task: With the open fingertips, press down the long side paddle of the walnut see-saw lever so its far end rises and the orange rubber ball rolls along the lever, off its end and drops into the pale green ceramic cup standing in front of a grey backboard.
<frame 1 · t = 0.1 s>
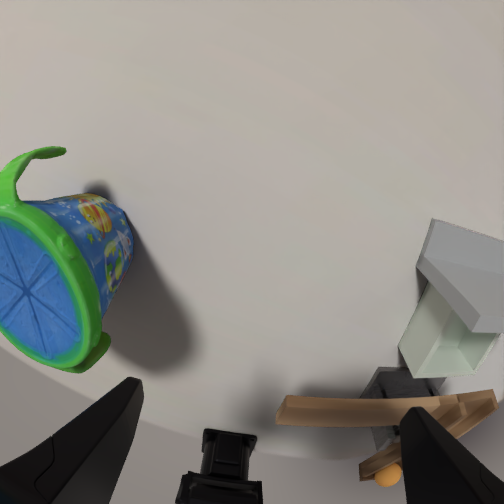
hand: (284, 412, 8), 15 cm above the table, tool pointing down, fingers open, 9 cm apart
fulcrum: (400, 392, 28), on the table
snack cup: (98, 234, 22), on the table
ball: (388, 474, 24), point 8 cm above the table, tilted 10°, touching lever
lever: (364, 451, 21), point 8 cm above the table, hinge at -12.0°, touching ball
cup: (447, 313, 23), on the table
backboard: (467, 270, 22), on the table
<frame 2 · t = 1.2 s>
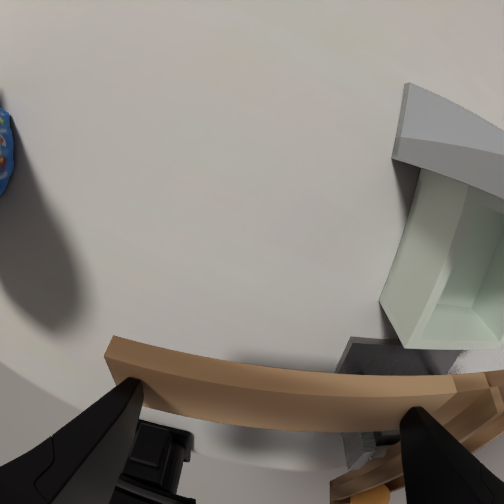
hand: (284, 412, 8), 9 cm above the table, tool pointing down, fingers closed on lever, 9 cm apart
fulcrum: (390, 380, 20), on the table
ball: (370, 498, 15), point 8 cm above the table, tilted 10°, touching lever
lever: (323, 470, 13), point 8 cm above the table, hinge at -12.0°, touching ball, gripper
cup: (453, 250, 15), on the table
backboard: (475, 178, 13), on the table
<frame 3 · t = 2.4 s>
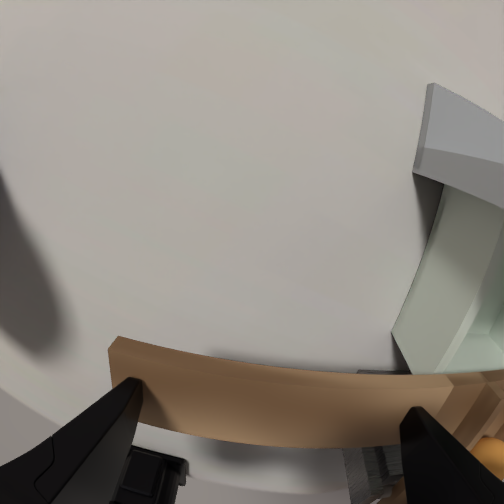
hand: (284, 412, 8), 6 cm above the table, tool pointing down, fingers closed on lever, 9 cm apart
fulcrum: (398, 410, 17), on the table
ball: (481, 467, 8), point 8 cm above the table, tilted 51°, touching lever
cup: (473, 275, 13), on the table
backboard: (500, 194, 11), on the table
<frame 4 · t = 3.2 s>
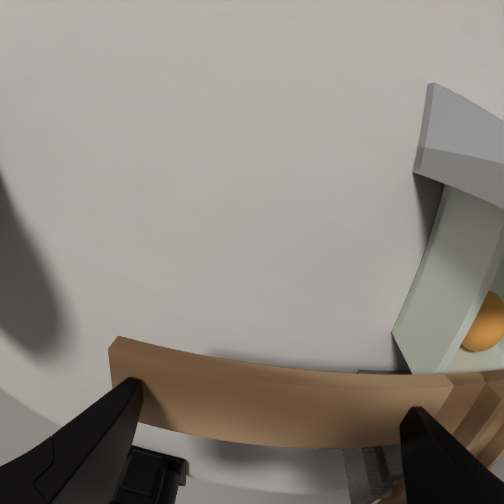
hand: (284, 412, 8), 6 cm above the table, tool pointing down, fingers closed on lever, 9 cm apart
fulcrum: (398, 410, 17), on the table
ball: (481, 321, 12), point 2 cm above the table, tilted 173°, touching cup
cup: (474, 275, 13), on the table
backboard: (500, 194, 11), on the table
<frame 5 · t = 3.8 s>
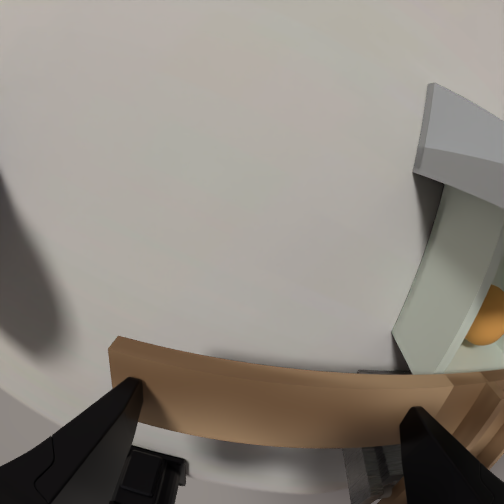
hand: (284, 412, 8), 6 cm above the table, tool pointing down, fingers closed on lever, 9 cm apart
fulcrum: (398, 410, 17), on the table
ball: (484, 314, 11), point 2 cm above the table, tilted 173°, touching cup
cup: (474, 275, 13), on the table
backboard: (500, 194, 11), on the table
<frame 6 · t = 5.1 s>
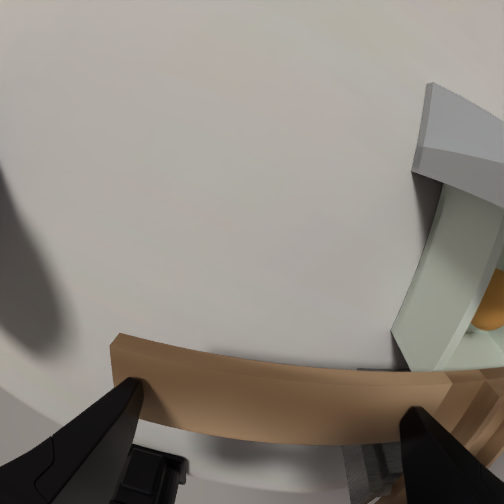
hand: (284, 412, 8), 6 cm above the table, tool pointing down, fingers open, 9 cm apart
fulcrum: (397, 408, 17), on the table
ball: (489, 299, 11), point 2 cm above the table, tilted 143°, touching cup
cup: (473, 273, 13), on the table
backboard: (499, 193, 11), on the table
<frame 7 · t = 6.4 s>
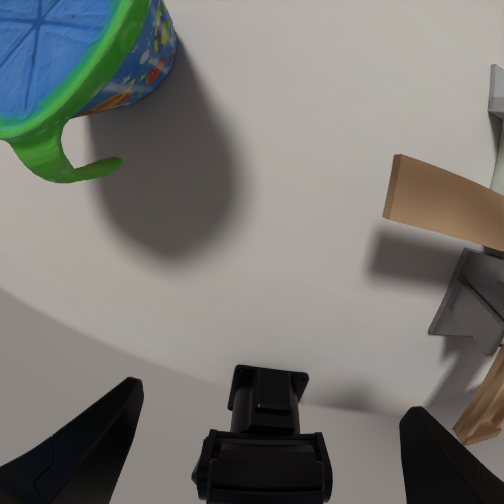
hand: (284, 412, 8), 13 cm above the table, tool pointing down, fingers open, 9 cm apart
fulcrum: (482, 296, 21), on the table
snack cup: (128, 55, 15), on the table
lever: (481, 346, 14), point 8 cm above the table, hinge at 7.6°
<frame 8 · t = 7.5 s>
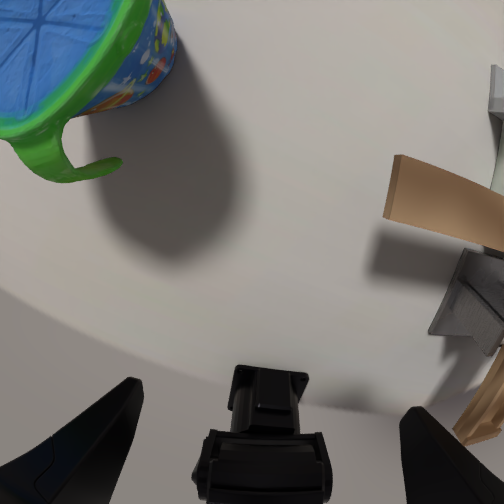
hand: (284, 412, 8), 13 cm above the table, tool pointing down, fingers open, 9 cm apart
fulcrum: (482, 297, 21), on the table
snack cup: (128, 55, 15), on the table
lever: (481, 346, 14), point 8 cm above the table, hinge at 7.6°
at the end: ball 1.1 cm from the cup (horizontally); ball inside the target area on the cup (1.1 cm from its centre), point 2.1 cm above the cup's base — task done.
